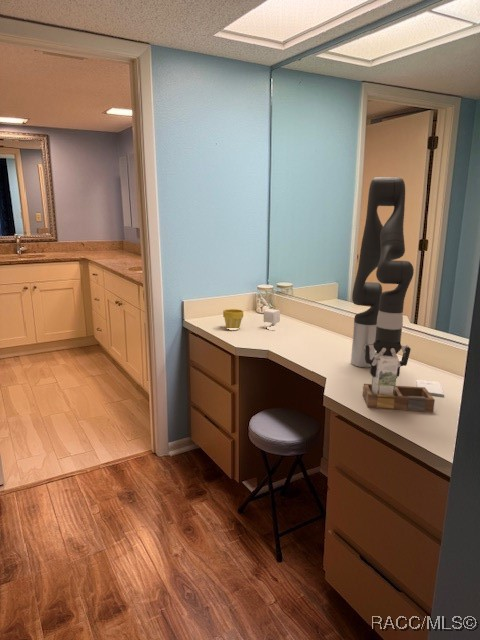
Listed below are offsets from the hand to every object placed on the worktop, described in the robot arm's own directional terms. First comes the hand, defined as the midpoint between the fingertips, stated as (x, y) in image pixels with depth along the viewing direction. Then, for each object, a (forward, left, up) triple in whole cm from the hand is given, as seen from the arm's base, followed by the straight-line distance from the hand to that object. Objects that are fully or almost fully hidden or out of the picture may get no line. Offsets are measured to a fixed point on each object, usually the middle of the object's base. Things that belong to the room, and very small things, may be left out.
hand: (384, 376), depth 143 cm
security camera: (-91, -39, -9) cm, 99 cm away
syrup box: (0, 0, -7) cm, 7 cm away
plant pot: (-86, -59, -9) cm, 105 cm away
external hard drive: (-15, +19, -9) cm, 26 cm away
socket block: (0, +5, -9) cm, 10 cm away
